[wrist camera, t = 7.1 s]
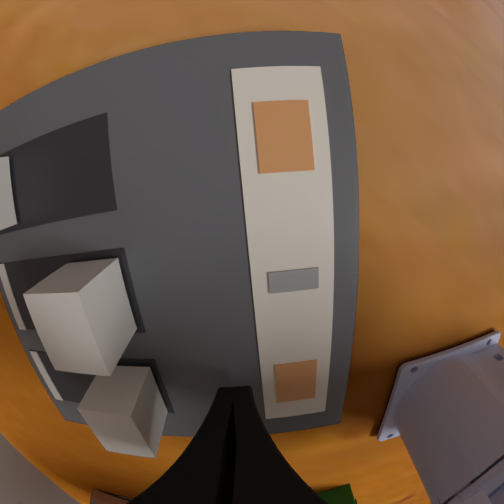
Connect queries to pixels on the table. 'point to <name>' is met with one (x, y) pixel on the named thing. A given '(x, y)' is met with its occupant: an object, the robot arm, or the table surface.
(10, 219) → the tab
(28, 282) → the switch board
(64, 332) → the tab middle
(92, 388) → the tab
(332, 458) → the table surface
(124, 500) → the electronic device
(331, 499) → the hardback book
